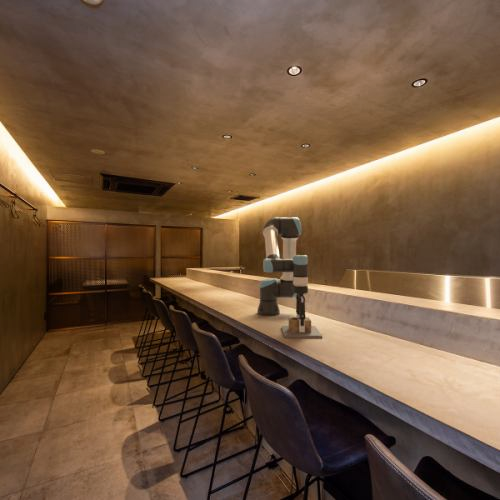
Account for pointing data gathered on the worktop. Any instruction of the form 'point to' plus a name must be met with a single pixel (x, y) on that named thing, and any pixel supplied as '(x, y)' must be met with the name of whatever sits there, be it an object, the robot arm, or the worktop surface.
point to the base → (301, 333)
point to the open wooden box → (295, 324)
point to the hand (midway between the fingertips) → (300, 329)
